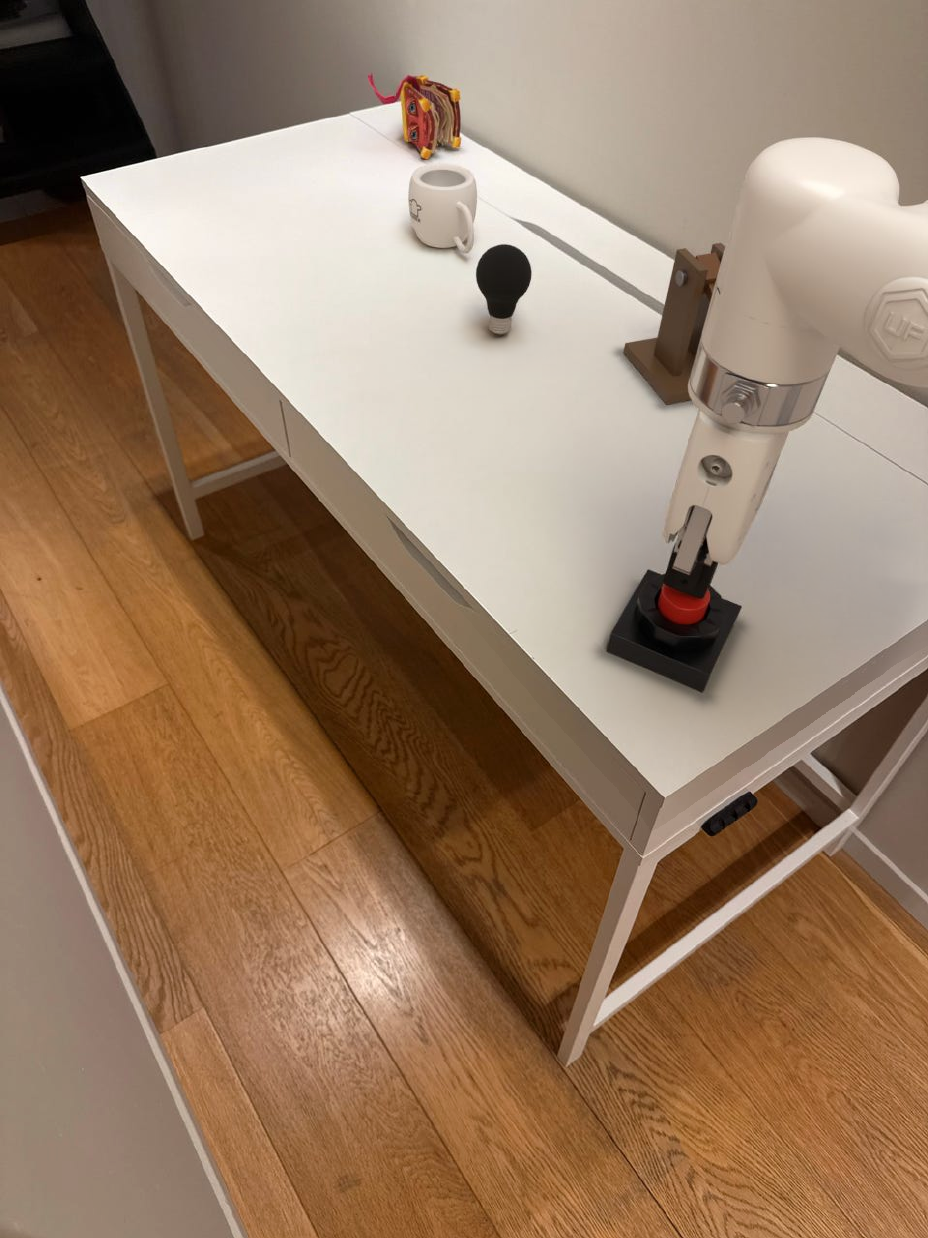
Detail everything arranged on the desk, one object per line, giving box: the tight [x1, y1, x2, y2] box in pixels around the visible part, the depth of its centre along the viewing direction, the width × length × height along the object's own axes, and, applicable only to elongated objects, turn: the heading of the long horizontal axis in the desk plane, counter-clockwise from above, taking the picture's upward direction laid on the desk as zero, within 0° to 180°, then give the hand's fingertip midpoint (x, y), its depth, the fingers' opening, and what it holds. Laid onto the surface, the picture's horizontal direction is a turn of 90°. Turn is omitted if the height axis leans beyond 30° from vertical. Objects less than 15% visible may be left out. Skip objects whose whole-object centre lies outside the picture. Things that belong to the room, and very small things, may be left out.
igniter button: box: [658, 584, 710, 625], centre depth 67 cm, size 4×4×2 cm
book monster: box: [367, 72, 462, 160], centre depth 127 cm, size 11×9×12 cm
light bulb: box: [475, 243, 533, 337], centre depth 95 cm, size 6×6×10 cm
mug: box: [407, 162, 478, 254], centre depth 109 cm, size 12×8×8 cm
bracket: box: [623, 242, 726, 405], centre depth 90 cm, size 10×9×13 cm
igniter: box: [605, 568, 743, 693], centre depth 69 cm, size 8×8×4 cm
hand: (685, 585), depth 66 cm, fingers closed
